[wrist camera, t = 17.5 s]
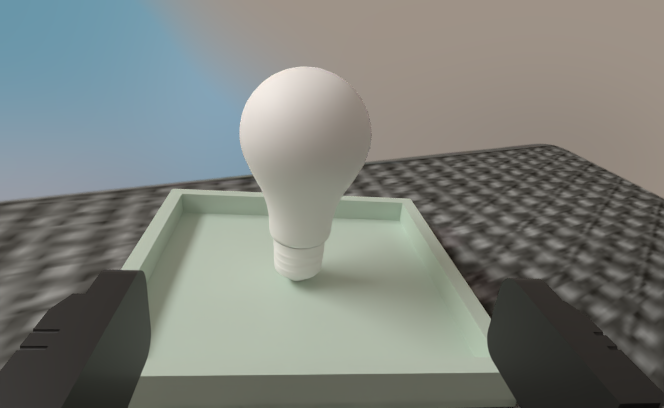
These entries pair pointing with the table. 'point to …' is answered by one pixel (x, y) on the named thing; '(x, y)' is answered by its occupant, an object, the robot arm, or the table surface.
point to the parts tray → (308, 312)
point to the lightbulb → (303, 158)
